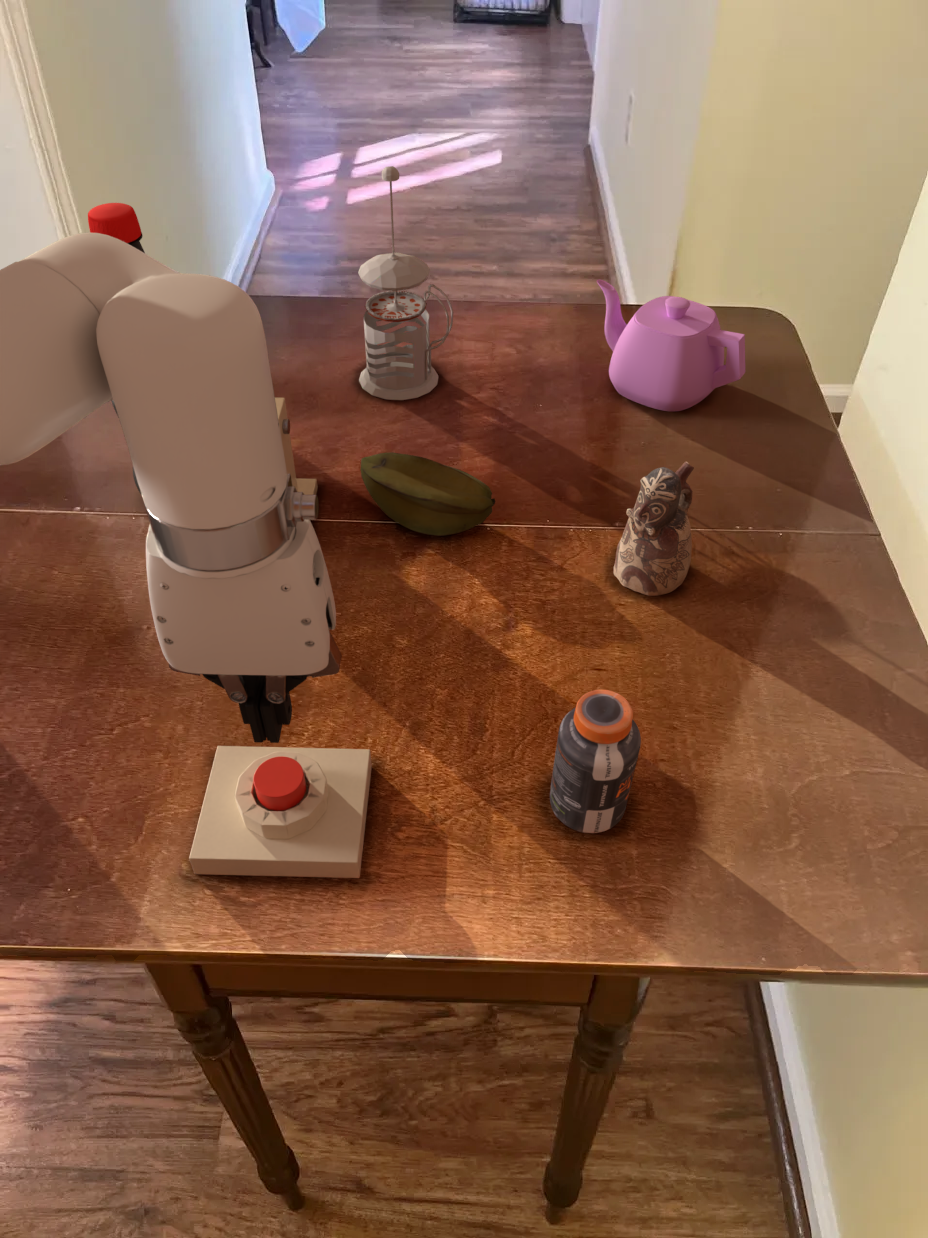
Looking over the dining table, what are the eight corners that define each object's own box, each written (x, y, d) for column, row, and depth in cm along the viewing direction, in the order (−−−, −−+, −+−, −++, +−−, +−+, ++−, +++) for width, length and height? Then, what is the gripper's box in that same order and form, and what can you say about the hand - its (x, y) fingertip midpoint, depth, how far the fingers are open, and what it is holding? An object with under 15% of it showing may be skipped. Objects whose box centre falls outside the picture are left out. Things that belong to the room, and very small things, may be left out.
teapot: (612, 338, 124) (623, 255, 116) (756, 386, 116) (778, 301, 108) (560, 382, 117) (567, 296, 109) (709, 437, 109) (730, 349, 101)
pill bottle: (623, 841, 71) (645, 750, 63) (544, 829, 72) (556, 737, 64) (627, 777, 75) (649, 683, 67) (553, 765, 76) (565, 671, 68)
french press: (374, 352, 121) (361, 145, 103) (462, 366, 119) (464, 157, 101) (347, 392, 114) (328, 178, 97) (439, 408, 112) (437, 191, 95)
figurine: (599, 557, 94) (614, 457, 85) (660, 539, 96) (681, 439, 87) (637, 604, 89) (657, 503, 81) (701, 583, 91) (727, 483, 83)
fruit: (394, 563, 93) (391, 509, 88) (358, 492, 101) (353, 440, 96) (501, 536, 96) (504, 483, 91) (458, 469, 104) (458, 418, 99)
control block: (194, 874, 69) (183, 845, 66) (222, 762, 76) (213, 731, 73) (359, 878, 69) (355, 849, 66) (371, 765, 76) (368, 734, 73)
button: (252, 810, 69) (249, 796, 67) (261, 769, 71) (258, 755, 70) (302, 811, 69) (299, 797, 67) (309, 770, 71) (306, 756, 70)
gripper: (366, 473, 54) (385, 686, 67) (104, 469, 54) (173, 682, 67) (353, 561, 49) (376, 773, 62) (62, 556, 49) (146, 769, 62)
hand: (270, 725), depth 64 cm, fingers closed
